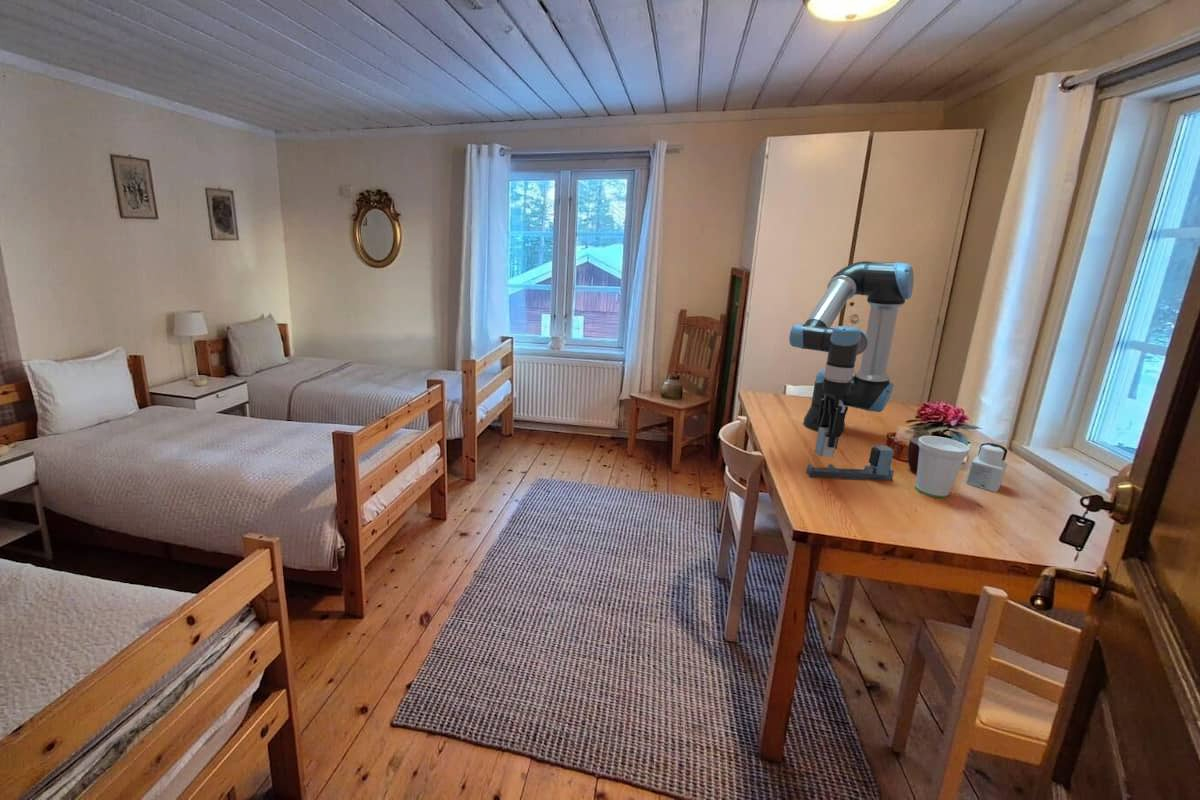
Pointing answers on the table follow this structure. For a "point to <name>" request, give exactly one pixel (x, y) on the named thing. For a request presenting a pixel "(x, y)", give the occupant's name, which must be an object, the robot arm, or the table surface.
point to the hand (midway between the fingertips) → (824, 453)
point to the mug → (913, 454)
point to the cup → (938, 464)
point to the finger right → (823, 441)
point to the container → (988, 467)
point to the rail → (875, 471)
